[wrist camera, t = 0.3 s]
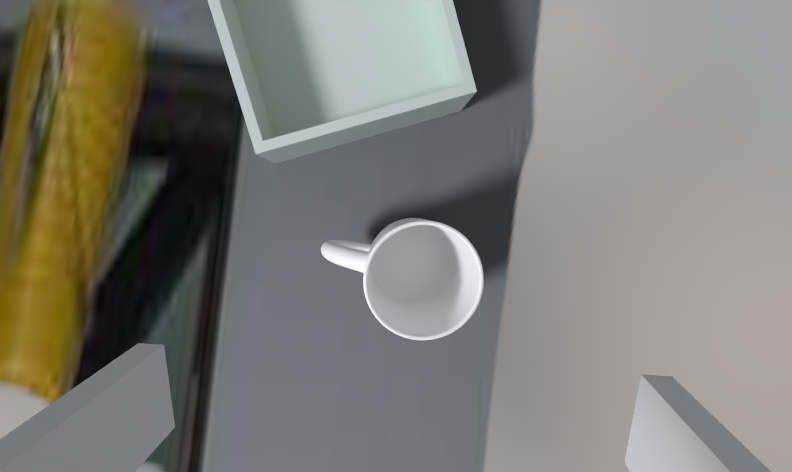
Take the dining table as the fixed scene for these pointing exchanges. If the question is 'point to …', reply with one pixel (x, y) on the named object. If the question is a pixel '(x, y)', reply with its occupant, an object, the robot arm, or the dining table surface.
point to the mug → (416, 276)
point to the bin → (340, 68)
